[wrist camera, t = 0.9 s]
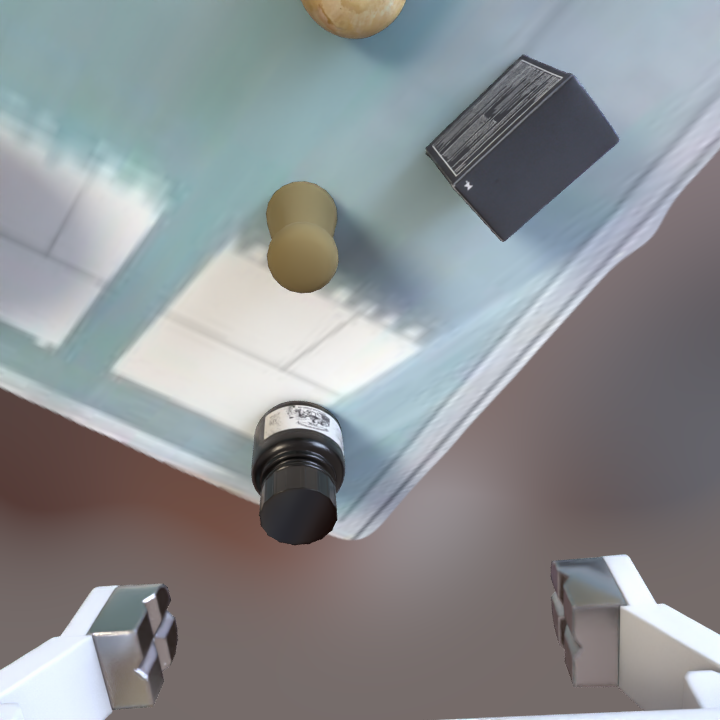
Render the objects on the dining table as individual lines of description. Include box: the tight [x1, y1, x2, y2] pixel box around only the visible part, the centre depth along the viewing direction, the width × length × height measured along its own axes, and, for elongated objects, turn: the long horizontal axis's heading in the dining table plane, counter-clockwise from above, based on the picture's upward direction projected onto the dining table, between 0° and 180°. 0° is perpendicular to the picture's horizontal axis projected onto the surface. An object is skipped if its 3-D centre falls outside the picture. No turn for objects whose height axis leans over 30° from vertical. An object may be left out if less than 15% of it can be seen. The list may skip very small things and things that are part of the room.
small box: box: [426, 55, 620, 242], centre depth 50 cm, size 11×6×10 cm, turn 134°
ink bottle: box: [251, 401, 345, 545], centre depth 63 cm, size 10×9×12 cm
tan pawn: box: [266, 181, 338, 293], centre depth 52 cm, size 6×6×11 cm
